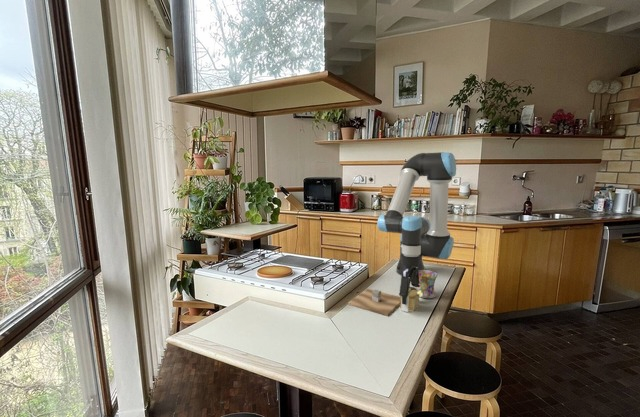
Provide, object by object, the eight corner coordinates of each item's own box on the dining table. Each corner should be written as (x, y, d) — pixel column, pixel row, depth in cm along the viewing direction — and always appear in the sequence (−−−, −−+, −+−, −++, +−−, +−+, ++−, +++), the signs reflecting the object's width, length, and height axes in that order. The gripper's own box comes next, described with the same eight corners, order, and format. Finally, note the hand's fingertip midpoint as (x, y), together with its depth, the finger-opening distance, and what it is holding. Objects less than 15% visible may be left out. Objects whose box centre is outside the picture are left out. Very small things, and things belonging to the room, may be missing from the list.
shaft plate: (367, 290, 145) (367, 280, 145) (404, 299, 135) (404, 289, 134) (347, 304, 131) (348, 293, 130) (387, 316, 120) (387, 304, 120)
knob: (404, 302, 133) (405, 284, 132) (418, 305, 129) (419, 287, 128) (399, 307, 128) (400, 289, 127) (413, 311, 124) (414, 292, 123)
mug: (440, 296, 138) (441, 273, 137) (429, 302, 132) (430, 278, 131) (417, 288, 147) (417, 267, 146) (405, 293, 141) (406, 271, 140)
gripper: (411, 247, 137) (409, 294, 140) (391, 259, 119) (390, 314, 122) (428, 249, 132) (426, 298, 135) (410, 263, 114) (408, 319, 117)
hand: (409, 306), depth 128 cm, fingers open, 10 cm apart
